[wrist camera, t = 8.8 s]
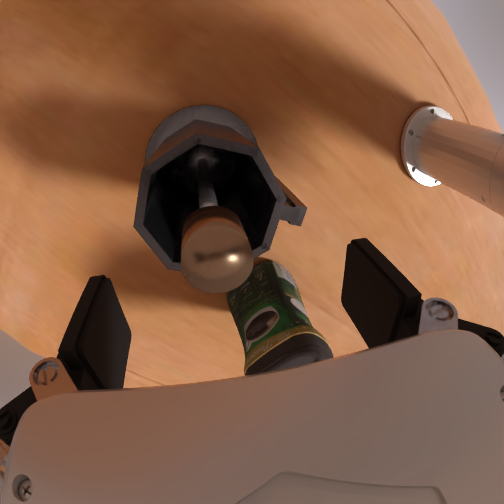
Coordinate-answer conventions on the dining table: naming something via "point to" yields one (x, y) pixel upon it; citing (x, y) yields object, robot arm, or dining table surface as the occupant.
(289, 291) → the coffee jar
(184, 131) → the press carafe
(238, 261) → the plunger
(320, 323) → the dining table surface
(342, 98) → the dining table surface
